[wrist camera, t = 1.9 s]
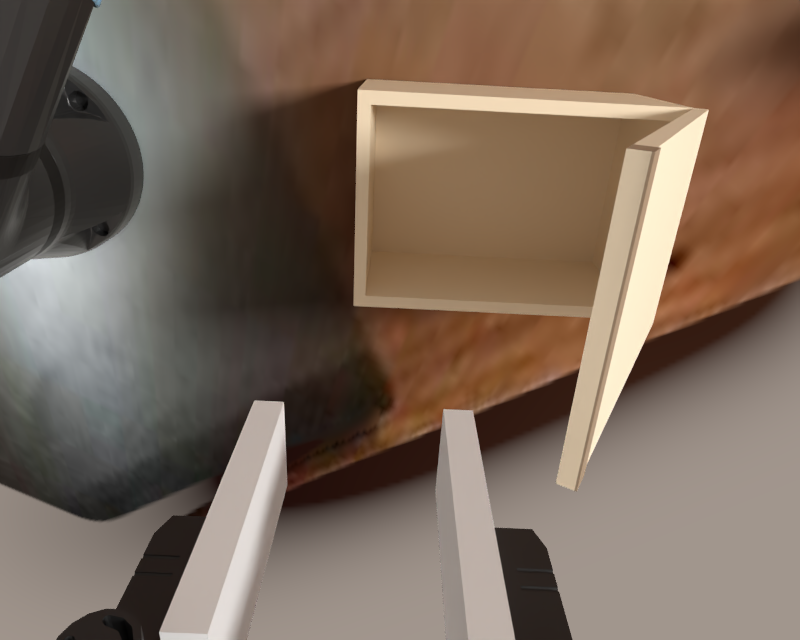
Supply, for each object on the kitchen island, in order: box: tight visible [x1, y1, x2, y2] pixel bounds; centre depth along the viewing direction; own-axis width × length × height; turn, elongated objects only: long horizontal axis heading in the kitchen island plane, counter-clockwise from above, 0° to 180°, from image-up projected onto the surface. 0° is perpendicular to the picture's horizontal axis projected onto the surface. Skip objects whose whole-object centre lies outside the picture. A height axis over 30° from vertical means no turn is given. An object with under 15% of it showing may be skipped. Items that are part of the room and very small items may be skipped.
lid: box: [556, 108, 709, 491], centre depth 30 cm, size 20×14×1 cm
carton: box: [354, 79, 693, 317], centre depth 43 cm, size 20×14×10 cm
